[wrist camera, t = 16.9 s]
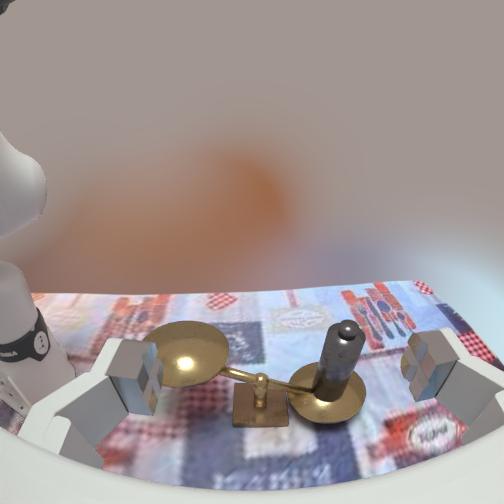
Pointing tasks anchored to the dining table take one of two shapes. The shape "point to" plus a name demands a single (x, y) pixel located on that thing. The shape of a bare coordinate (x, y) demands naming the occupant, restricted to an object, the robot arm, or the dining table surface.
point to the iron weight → (338, 360)
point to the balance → (247, 379)
